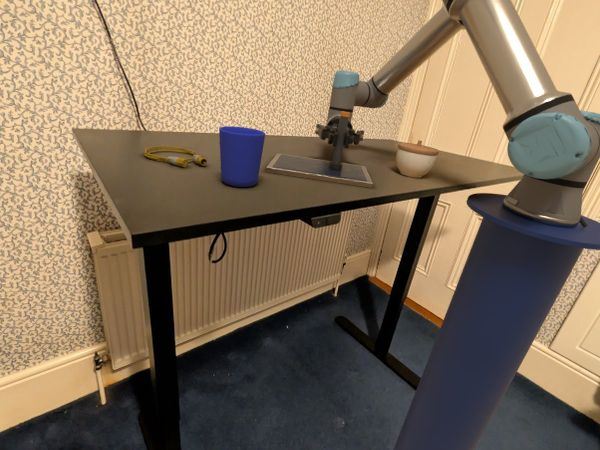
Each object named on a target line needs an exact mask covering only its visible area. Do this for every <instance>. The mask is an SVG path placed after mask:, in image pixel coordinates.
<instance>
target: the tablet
mask: <svg viewBox="0 0 600 450" xmlns="http://www.w3.org/2000/svg"><path fill="white" fill-rule="evenodd" d="M332 161H333V160H324V159H319V158H312V157H305V156H299V155H298V156H297V155H292V154H285V153H280V152H279V153H276V155H275V156H274V157H273V158H272V160H271V161H270V162H269V163H268V165H267V166H265V172H266V173H269V174H270V173H271V174H275V175H276V174H277V175H283V176H290V177H297V178H302V179H310V180H315V181H316V180H317V181H323V182H330V183H337V184H343V185H350V186H356V187H362V188H369V189H372V188H373V185H374V183H373V180H372V178H371V176H370V174H369V172H368V170H367V168H366V165H358V164H352V163H351V164H350V163H345V162H341V163H342V164H343V166H342V169H341V170H335V169H331V168H329V164H330V162H332Z"/></svg>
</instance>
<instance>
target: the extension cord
mask: <svg viewBox="0 0 600 450" xmlns="http://www.w3.org/2000/svg"><path fill="white" fill-rule="evenodd" d="M162 152H172V153H182V154H189V155H192V157H189V158H184V157H179V156H170V155H169V156H167V157H166V156H161V155H157V154H155V153H162ZM144 156H145V157H146V158H148V159H149V160H153V161H156V162H162V163H170V164H172V165H174V167H175V166H177V167H181V168H187V167H189V163H191V162H195V164H197V165H199V166H200V165H201V166H203V167H204V166H207V163H208V160H207V159H206V158H205V157H204V156H202V155H199V154H198V153H197V152H196V151H194V150H191V149H187V148H184V147H179V146H174V145H173V146H172V145H154V146H150V147H147V148H145V150H144Z"/></svg>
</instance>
